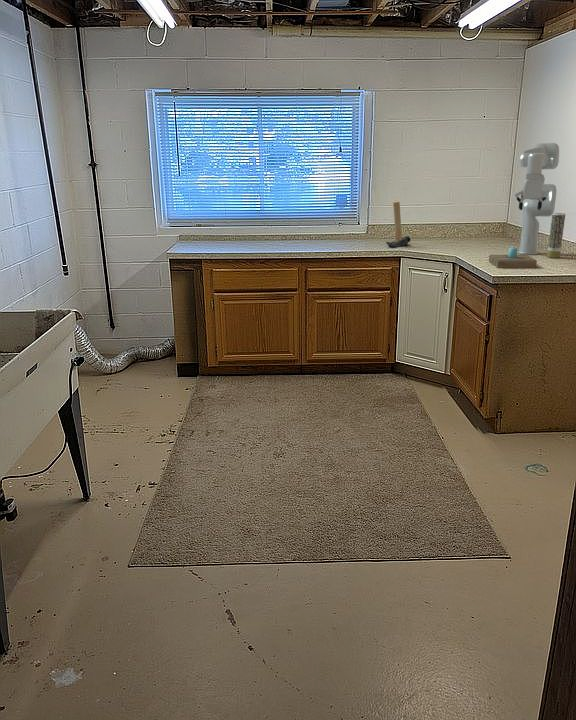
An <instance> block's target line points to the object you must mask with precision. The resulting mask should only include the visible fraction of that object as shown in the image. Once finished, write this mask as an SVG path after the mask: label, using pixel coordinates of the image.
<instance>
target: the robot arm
mask: <svg viewBox="0 0 576 720" xmlns="http://www.w3.org/2000/svg"><path fill="white" fill-rule="evenodd" d="M559 159H560V146H559V144H557V143H555V142H545V143H536V144H535V145H534V146H533V147H532V148H530V149H527V150H524V151H522V152H521V154H520V157H519V159H518V160H519V166H520V167H521V168H526V174H525V179H524V180H523V183H522V188H521V190H520V191H519V192H516V193H515V194H514V197H515V198H516V199H515V200H517V202H518V209H519V211H522V226H521V227H522V228H521V236H520V243H519V250H517V254H518V255H520V254H526V255H528V256H530V255H532V256H534V255H538V254H540V253H539V251H538V249H537V248H538V238H539V232H540V231H539V230H540V222H539V220H538V219H537V217H552V214H553V213H554V212H555V208H556V200H557V193H558V192H557V187H556V185H555V184H551V183H545V178H546V177H545V176H544V174H543V173H542V170H554V169H556V168H557V167H558V165H559V162H560V160H559ZM524 200H526V201H524Z"/></svg>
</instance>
